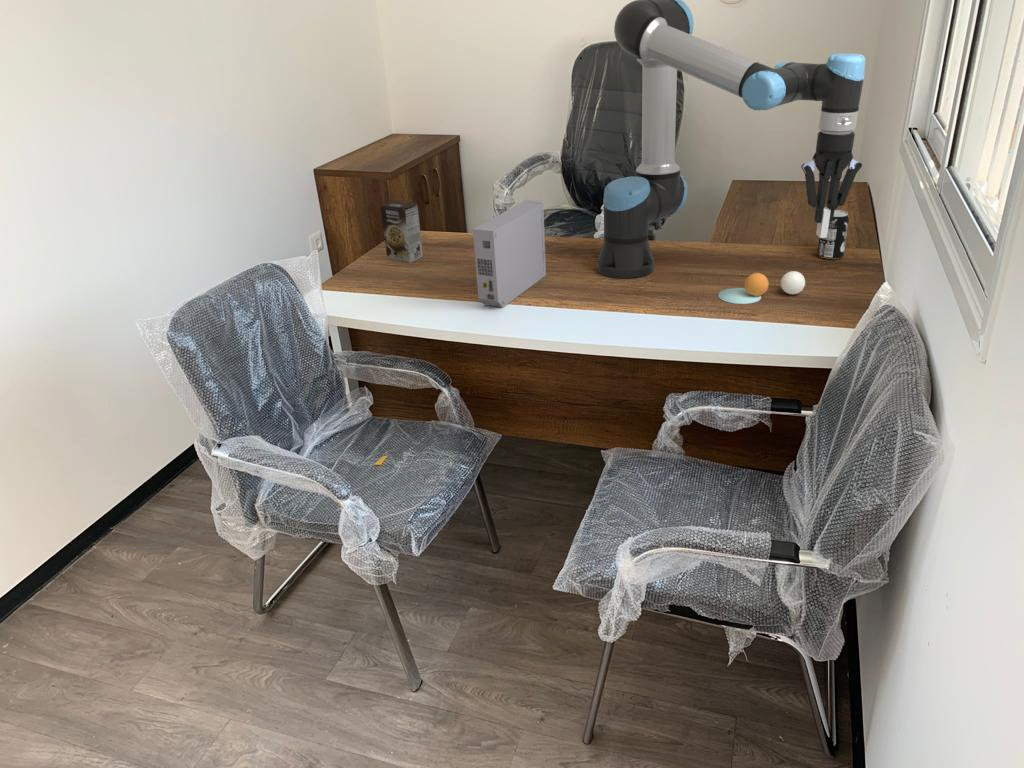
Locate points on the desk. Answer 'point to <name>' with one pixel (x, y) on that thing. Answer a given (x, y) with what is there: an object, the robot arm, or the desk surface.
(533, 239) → the game console
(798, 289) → the cue ball
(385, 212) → the coffee box
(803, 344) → the desk surface
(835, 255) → the beverage can
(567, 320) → the desk surface
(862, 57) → the robot arm
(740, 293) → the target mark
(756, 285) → the object ball
